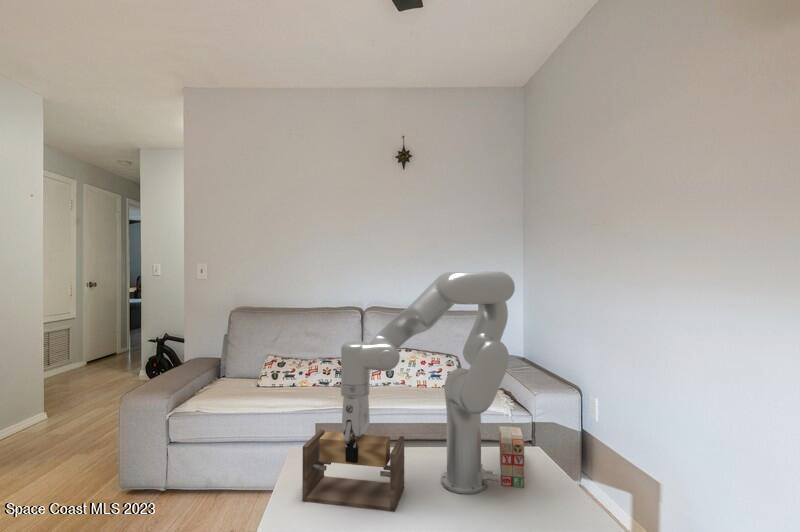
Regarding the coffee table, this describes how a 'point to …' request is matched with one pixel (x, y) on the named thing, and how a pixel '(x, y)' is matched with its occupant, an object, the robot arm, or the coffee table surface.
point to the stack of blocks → (511, 456)
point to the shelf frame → (351, 481)
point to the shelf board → (369, 449)
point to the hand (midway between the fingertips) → (355, 456)
